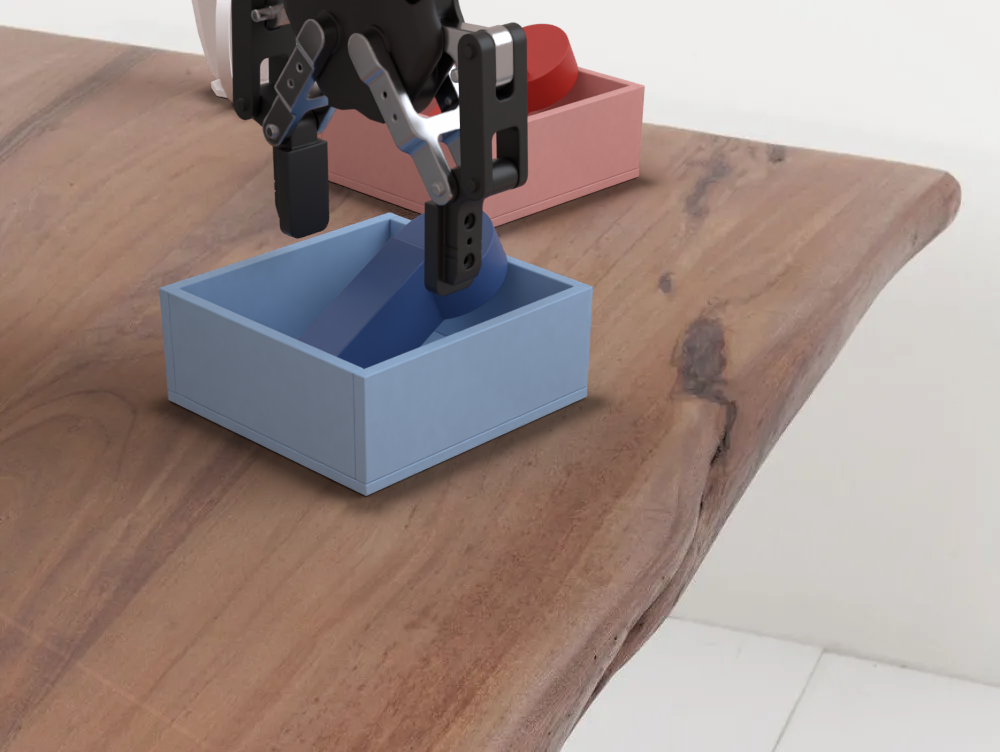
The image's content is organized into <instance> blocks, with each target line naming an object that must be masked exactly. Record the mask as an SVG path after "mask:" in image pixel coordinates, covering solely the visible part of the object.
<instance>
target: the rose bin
mask: <svg viewBox="0 0 1000 752" xmlns="http://www.w3.org/2000/svg"><path fill="white" fill-rule="evenodd" d="M454 65H455V64H454ZM455 67H456V65H455ZM645 88H646V86H645V85H644V84H642V83H641V84H640V83H636V82H633V81H630V80H626V79H624V78H620V77H616V76H613V75H609V74H605V73H601V72H598V71H594V70H592V69H588V68H584V67H582V66H581V67H580V66H578V77H577V80H576V82H575V84H574V86H573V87H572V89H571V90H570V91H569V92H568V93H567V94H566V95H565V96H564V97H563V98H562V99H560V100H559V101H557V102H556V103H554V104H552V105H550V106H548V107H546V108H544V109H541V110H537V111H533V112H530V113H529V114H528V179H527V181H526V183H525V184H524V185H523V186H521V187H518V188H515V189H510V190H507V191H504V192H501V193H498V194H495V195H492V196H489V197H488V198H485V199H484V202H483V211H484V212H485V213H486V214H487V215H488V216H489V217H490V219H491V221H492V223H493V225H494V228H496V227H499V226H502V225H505V224H507V223H511V222H513V221H517V220H518V219H521V218H524V217H528V216H530V215H533V214H535V213H539V212H542V211H544V210H548V209H550V208H554V207H556V206H559V205H562V204H565V203H567V202H571V201H572V200H575V199H579V198H581V197H584V196H587V195H591V194H593V193H596V192H599V191H601V190H604V189H607V188H609V187H613V186H616V185H619V184H622V183H624V182H628V181H631V180H632V179H635V178H638V177H639V176H640V163H641V149H642V135H643V134H642V133H643V118H644V105H645V104H644V103H645V90H646V89H645ZM437 104H438V103H437V101H436V99H435V97H434V98H433V100H432V101H431V103H430V105H429V106H428V107H427V108H426V109H425V110H423V111H422V112H420V113H419V115H420V116H422V117H425V118H427V117H429V116H427V115H428V114H429V113H430V112H431V111H432V110H433V109H434V108H435V107H436V105H437ZM317 138H320V139H323V140H326V141H327V143H328V181H329V182H331V183H335V184H337V185H340V186H342V187H345V188H348V189H351V190H354V191H356V192H359V193H362V194H365V195H368V196H370V197H374V198H376V199H379V200H382V201H384V202H387V203H390V204H393V205H395V206H398V207H401V208H404V209H406V210H408V211H412V212H415V213H417V214H419V215H421V214H423V213H425V202H427V201H430V200H432V199H431V198H430V196H429V194H428V192H427V190H426V187H425V185H424V183H423V181H422V179H421V176H420V174H419V172H418V170H417V168H416V165H415V163H414V161H413V159H412V157H411V156H410V155H409V154H407V153H404V152H402V151H400V150H399V149H398V148H397V146H396V145H395V143H394V140H393V138H392V136H391V134H390V132H389V129H388V127H387V125H386V123H385V124H382V123H379V122H376V121H373V120H370V119H368V118H367V117H365V116H364V115H363V114H361V113H360V112H358V111H357V110H355V109H351V110H340V109H337V110H336V111H335V113H334V115H333V116H332V118H331V120H330V122H329V123H328V125H327V127H326V128H325V130H324V131H323V133H321V134H318V135H317ZM439 144H440V147H441V149H442V151H443V153H444V155H445V158H446V160H447V162H448V164H449V167H450V169H451V168H454V167H457V166H456V164H455V162H454V159H453V157H452V155H451V153H450V150H449V148H448V146H447V145H446V144H445V143H443V142H439ZM495 158H497V154H496V133H495V134H494V135H493V138H492V159H495Z"/></svg>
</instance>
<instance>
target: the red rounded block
mask: <svg viewBox="0 0 1000 752" xmlns="http://www.w3.org/2000/svg"><path fill="white" fill-rule="evenodd" d="M521 27H522V28H523V30H524V31H525V34H526V38H527V105H528V114H529V113H530V112H533V111H537V110H541V109H544V108H546V107H548V106H550V105H552V104H554V103H556V102H557V101H559V100H560V99H562V98H563V97H564V96H565V95H566V94H567V93H568V92H569V91H570V90H571V89H572V87H573V86H574V84H575V82H576V80H577V77H578V67H579V66H578V63H577V59H576V57H575V54H574V51H573V48H572V45H571V42H570V39H569V36H568V35H567V33H566V32H565V31H564V30H563V29H562V28H561V27H560V26H557V25H554V24H551V23H534V24H528V25H525V26H521ZM438 114H441V110H440V108H439V106H438V104H437V105H436V107H435V108H434V109H433V110H432V111H431V112H430V113H429V114H428V115H427V116H429V117H431V116H434V115H438Z"/></svg>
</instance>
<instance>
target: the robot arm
mask: <svg viewBox="0 0 1000 752" xmlns="http://www.w3.org/2000/svg"><path fill="white" fill-rule="evenodd" d="M231 19H232V83H233V102H232V106H233V109H234V112H235V114H236V115H237V117H238V118H239V119H240V120H243V121H248V120H251V119H252V120H253V121H255V122H256V124H258V125H259V126H260V127H261V128H262V135H263V137H264V139H265V140H266V142H267V143H268V144H269V145H270V146H271V147H272V163H273V166H272V167H273V168H272V169H273V181H274V182H273V187H274V189H273V190H274V205H275V210H276V213H277V216H278V218H279V219H278V221H279V230H280V232H282V234H284V235H285V236H288V237H291V238H293V239H296V240H299V239H302V238H305V237H309V236H312V235H315V234H318V233H321V232H323V231H324V230H325V229H327V227H328V225H329V223H330V185H329V184H330V183H329V182H330V181H329V180H328V143H327V141H326V140H323V139H320V138H317V135H318V134H321V133H323V131H324V130H325V128H326V127H327V125H328V123H329V122H330V120H331V118H332V116H333V115H334V113H335V111H336V110H337V109H340V110H351V109H355V110H357V111H358V112H360V113H361V114H363V115H364V116H365V117H367V118H368V119H370V120H373V121H376V122H379V123H382V124H385V123H386V125H387V127H388V129H389V132H390V134H391V136H392V138H393V140H394V143H395V145H396V146H397V148H398V149H399V150H400V151H402V152H404V153H407V154H409V155H410V156H411V157H412V159H413V161H414V163H415V165H416V168H417V170H418V172H419V174H420V176H421V179H422V181H423V183H424V185H425V187H426V190H427V192H428V194H429V196H430V198H431V199H432V200H430V201H427V202H425V226H424V285H425V288H426V290H427V291H429V292H432V293H434V294H437V295H439V296H447V295H450V294H452V293H455V292H458V291H460V290H463V289H466V288H468V287H469V286H470V285H471V284H472V282H473V280H474V278H475V277H477V276H478V274H479V271H480V268H481V262H482V253H481V250H482V242H481V240H482V218H483V202H484V199H485V198H488V197H489V196H492V195H495V194H498V193H501V192H504V191H507V190H510V189H515V188H518V187H521V186H523V185H524V184H525V183H526V181H527V179H528V105H527V38H526V34H525V31H524V30H523V28H522V27H523V26H522V25H520V24H519V23H517V22H514V21H513V22H508V23H507V22H506V23H504V24H497V25H493V26H492V25H491V26H484V25H479V24H474V23H469V22H465V18H464V15H463V11H462V9H461V6H460V1H459V0H231ZM266 58H269V82H268V83H264V84H260V66H261V63H262V61H263V60H264V59H266ZM454 64H455V65H456V67H455V65H454ZM434 97H435V99H436V101H437V103H438V106H439V108H440V110H441V114H438V115H434V116H431V117H427V118H425V117H422V116H420V115H419V113H420V112H422V111H423V110H425V109H426V108H427V107H428V106H429V105H430V103H431V101H432V100H433V98H434ZM495 133H496V154H497V158H495V159H492V138H493V135H494V134H495ZM439 142H443V143H445V144H446V145H447V146H448V148H449V150H450V153H451V155H452V157H453V159H454V162H455V164H456V166H457V167H454V168H451V169H450V167H449V164H448V162H447V160H446V158H445V155H444V153H443V151H442V149H441V147H440V144H439Z"/></svg>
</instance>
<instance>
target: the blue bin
mask: <svg viewBox="0 0 1000 752" xmlns="http://www.w3.org/2000/svg"><path fill="white" fill-rule="evenodd" d="M412 220H413V219H412ZM412 220H411V219H409V218H407V217H403V216H401V215H398V214H395V213H393V212H390V211H389V212H386V213H383V214H379V215H377V216H374V217H371V218H368V219H365V220H362V221H359V222H356V223H355V222H354V223H352V224H350V225H346V226H343V227H340V228H338V229H335V230H331V231H328V232H325V233H321V234H318V235H316V236H313V237H310V238H307V239H304V240H301V241H298V242H297V241H296V242H295V243H292V244H289V245H286V246H283V247H279V248H276V249H274V250H270V251H267V252H264V253H261V254H258V255H256V256H252V257H248V258H246V259H242V260H240V261H237V262H233V263H231V264H228V265H225V266H221V267H217V268H216V269H212V270H209V271H206V272H203V273H200V274H197V275H195V276H191V277H188V278H185V279H181V280H179V281H176V282H173V283H170V284H167V285H163V286H161V287H159V288H158V294H159V306H160V318H161V331H162V342H163V353H164V354H163V355H164V365H165V377H166V389H167V399H168V401H170V402H171V403H173V404H175V405H178V406H180V407H182V408H184V409H186V410H188V411H190V412H192V413H194V414H197V415H199V416H201V417H203V418H204V419H206V420H209V421H211V422H212V423H214V424H217V425H219V426H221V427H223V428H225V429H227V430H228V431H229V430H230V431H232V432H233V433H236V434H237V435H239V436H241V437H244V438H246V439H248V440H250V441H252V442H254V443H256V444H258V445H260V446H262V447H264V448H266V449H269V450H270V451H273V452H275V453H277V454H279V455H281V456H283V457H284V458H287V459H289V460H291V461H293V462H295V463H297V464H299V465H301V466H303V467H305V468H307V469H310V470H312V471H314V472H316V473H318V474H320V475H322V476H324V477H326V478H327V479H330V480H332V481H334V482H336V483H338V484H340V485H343V486H344V487H346V488H348V489H350V490H353V491H355V492H356V493H358V494H360V495H363V496H365V497H367V496H370V495H371V494H374V493H376V492H378V491H381V490H383V489H385V488H387V487H389V486H392V485H394V484H396V483H399V482H400V481H403V480H405V479H407V478H409V477H411V476H414V475H416V474H419V473H420V472H423V471H425V470H427V469H430V468H432V467H434V466H436V465H438V464H441V463H443V462H445V461H447V460H450V459H452V458H455V457H457V456H458V455H461V454H463V453H465V452H467V451H470V450H472V449H474V448H476V447H478V446H481V445H483V444H485V443H488V442H489V441H492V440H494V439H496V438H499V437H501V436H503V435H505V434H507V433H510V432H512V431H514V430H516V429H518V428H521V427H523V426H525V425H528V424H529V423H532V422H534V421H536V420H538V419H541V418H543V417H546V416H547V415H549V414H552V413H554V412H556V411H558V410H561V409H563V408H565V407H567V406H570V405H573V403H576V402H578V401H581V400H584V399H586V398H587V397H588V384H589V383H588V382H589V367H590V348H591V330H592V316H593V315H592V311H593V298H594V297H593V296H594V295H593V294H594V287H593V285H589V284H588V283H584V282H581V281H579V280H576V279H573V278H570V277H568V276H565V275H562V274H560V273H556V272H554V271H551V270H549V269H546V268H543V267H541V266H537V265H535V264H533V263H529V262H528V261H524V260H521V259H519V258H516V257H513V256H510V255H507V254H506V256H507V260H508V268H507V274H506V277H505V279H504V282H503V284H502V285H501V287H500V288H499V290H498V291H497V292H496V293H495V295H494V296H493V297H492V298H491V299H489V300H488V301H487V302H486V303H485V304H483V305H482V306H480V307H479V308H477V309H475V310H474V311H472V312H470V313H467V314H465V315H462V316H459V317H456V318H452V319H446V320H444V321H443V322H442V323H441V324H440V325H439V326H438V327H437V329H436V330H435V331H434V332H433V333H432V334H431V335H430V336H429V338H428V339H427V340H426V341H425V342H424V343H423V344H422V345H421V346H420V347H419V348H416V349H414V350H411V351H409V352H406V353H404V354H401V355H399V356H396V357H394V358H391V359H388V360H386V361H383V362H381V363H378V364H376V365H373V366H371V367H368V368H366V369H363V368H361V367H359V366H356V365H354V364H352V363H349V362H347V361H345V360H343V359H340V358H338V357H336V356H333V355H331V354H329V353H326V352H324V351H322V350H319V349H317V348H315V347H313V346H310V345H308V344H306V343H303V342H301V341H299V340H298V339H299V337H300V336H301V335H302V334H303V333H304V332H305V331H306V330H307V329H308V328H309V327H310V326H311V324H312V323H313V322H314V321H315V320H316V319H317V318H318V317H319V316H320V315H321V314H322V312H323V311H324V310H325V309H326V308H327V307H328V306H329V305H330V304H331V303H332V302H333V300H334V299H335V298H336V297H337V296H338V295H339V294H340V293H341V292H342V291H343V290H344V289H345V287H346V286H347V285H348V284H349V283H350V282H351V281H352V280H353V279H354V278H355V277H356V275H357V274H358V273H359V272H360V271H361V270H362V269H363V268H364V267H365V266H366V265H367V263H368V262H369V261H370V260H371V259H372V258H373V257H374V256H375V255H376V254H377V253H378V252H379V250H380V249H381V248H382V247H383V246H384V245H385V244H386V243H387V242H388V241H389V240H390V238H392V237H394V238H395V237H396V235H397V234H398V233H399V231H400V230H401V229H402V228H403V227H404V226H405V225H407V224H408V223H409V222H410V221H412Z"/></svg>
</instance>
